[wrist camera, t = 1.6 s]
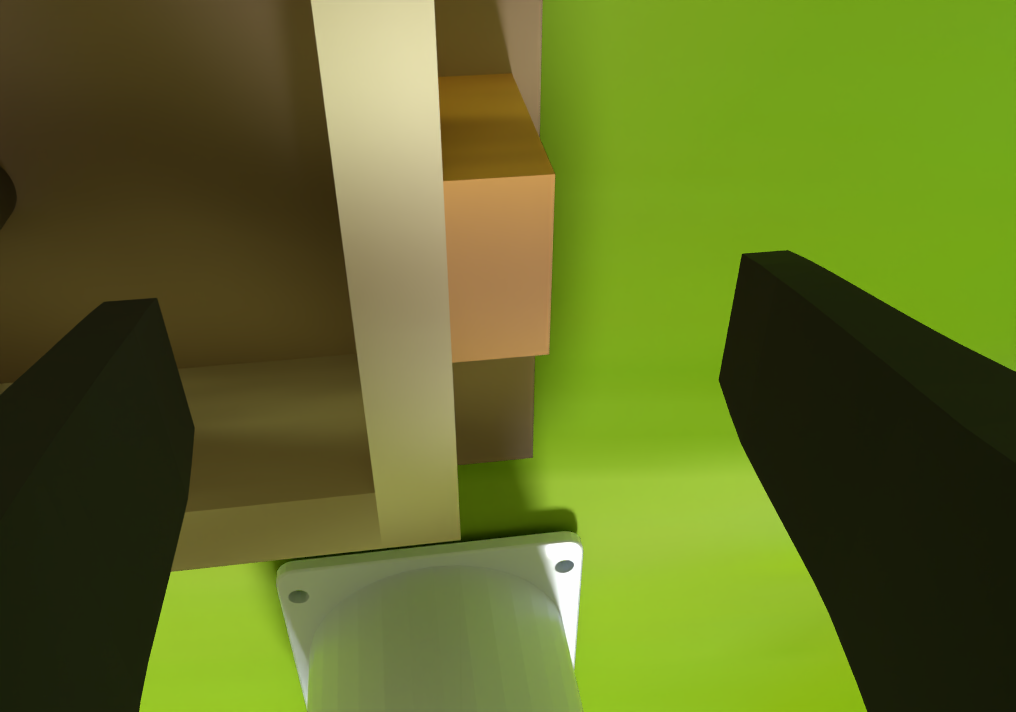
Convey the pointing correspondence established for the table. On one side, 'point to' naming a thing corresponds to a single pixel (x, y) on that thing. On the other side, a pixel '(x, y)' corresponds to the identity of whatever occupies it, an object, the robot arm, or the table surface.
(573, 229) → the table surface
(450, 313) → the cream square frame
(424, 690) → the robot arm
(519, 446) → the stake board
